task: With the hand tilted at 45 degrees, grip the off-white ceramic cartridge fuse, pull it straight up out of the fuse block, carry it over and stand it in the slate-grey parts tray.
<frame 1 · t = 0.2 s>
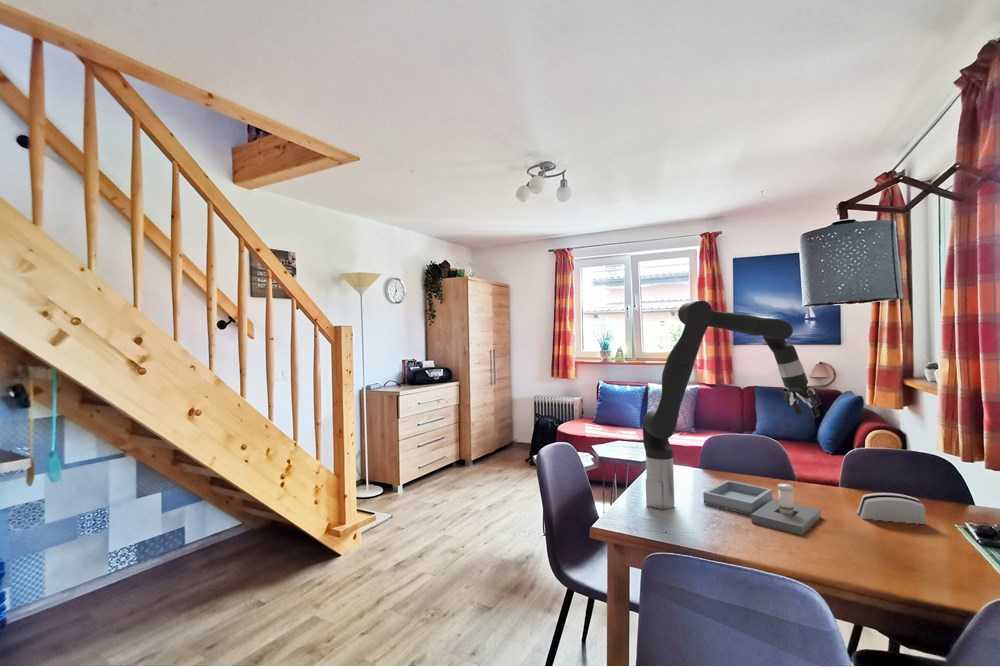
hand: (807, 415, 166), 30 cm above the table, tool tilted 20°, fingers open, 8 cm apart
grey grooved half-disc: (891, 521, 145), on the table
parts tray: (738, 502, 164), on the table
fuse block: (786, 519, 147), on the table
fuse: (785, 502, 148), in the fuse block
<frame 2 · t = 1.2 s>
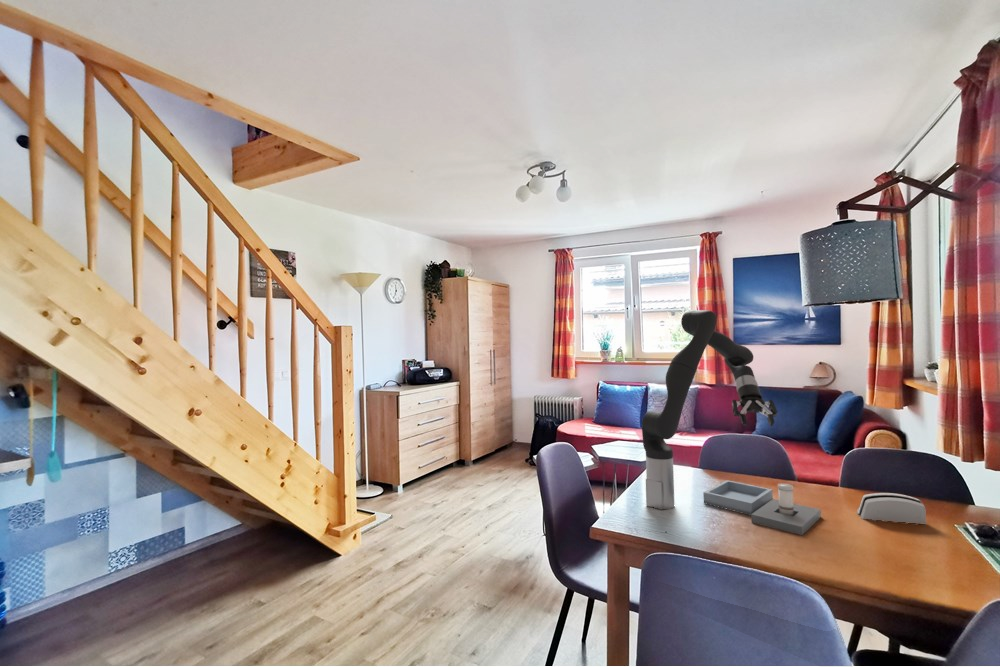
hand: (758, 424, 165), 27 cm above the table, tool tilted 45°, fingers open, 8 cm apart
nothing on the table moved.
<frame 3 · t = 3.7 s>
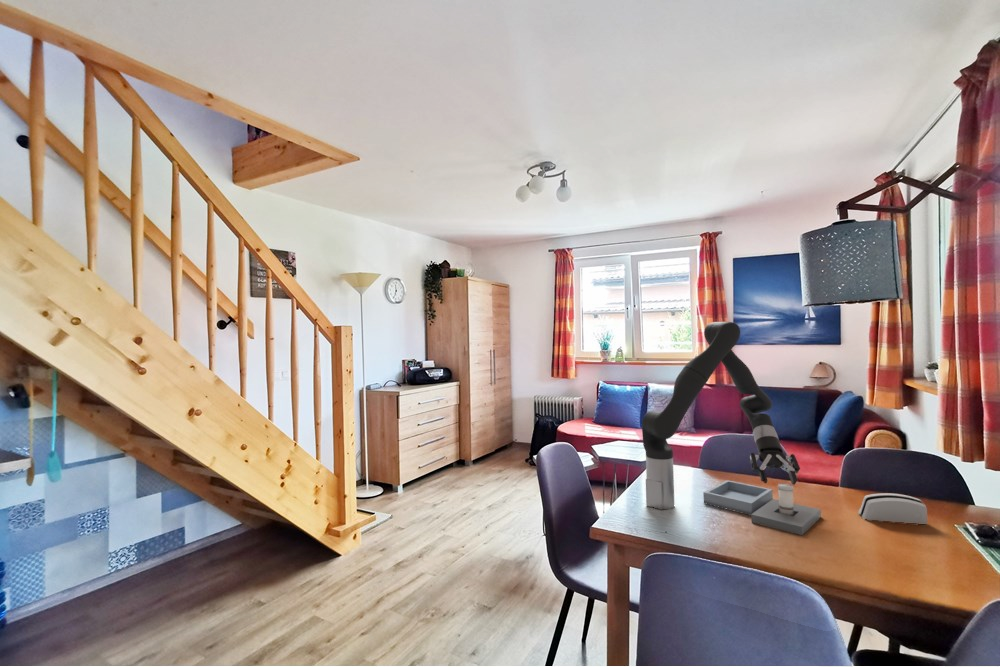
hand: (779, 482, 152), 10 cm above the table, tool tilted 45°, fingers open, 8 cm apart
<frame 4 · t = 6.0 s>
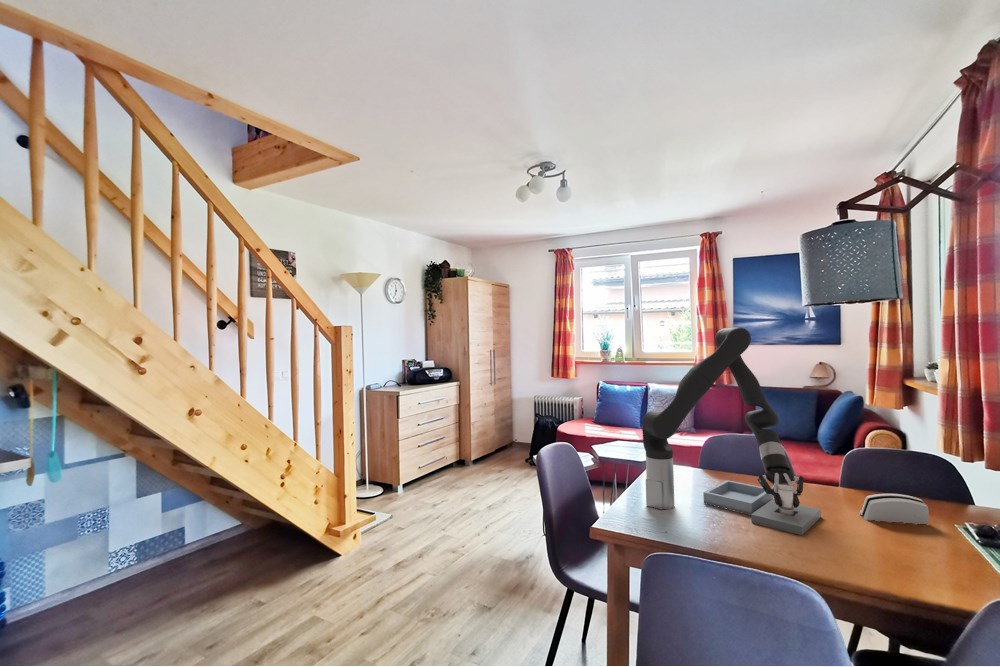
hand: (788, 505, 146), 5 cm above the table, tool tilted 45°, fingers closed on fuse, 4 cm apart
fuse: (786, 502, 148), in the fuse block, touching gripper
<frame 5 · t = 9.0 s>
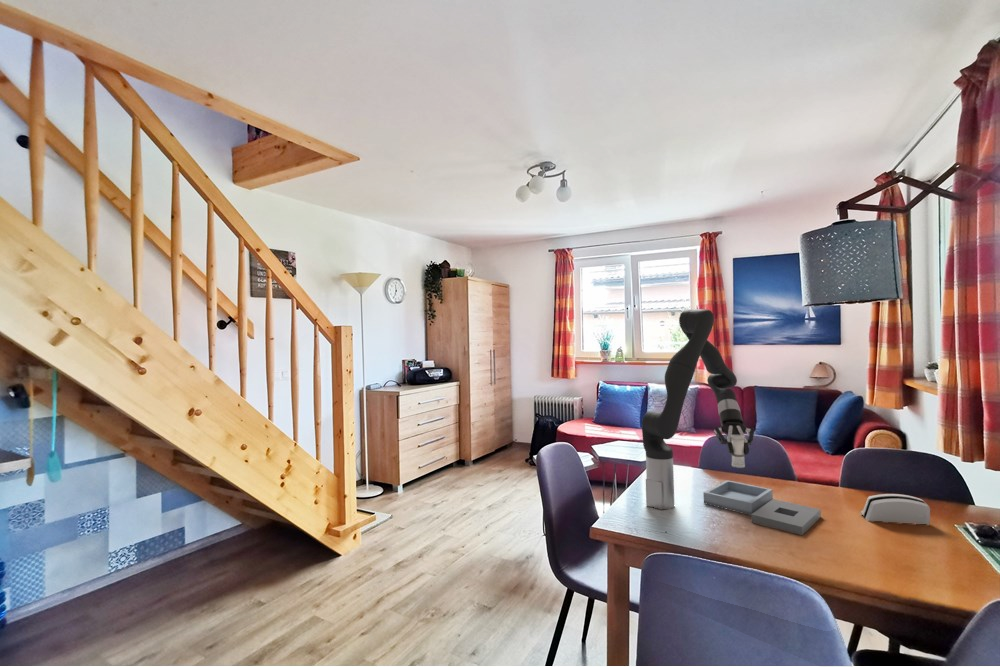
hand: (739, 453, 162), 18 cm above the table, tool tilted 45°, fingers closed on fuse, 4 cm apart
fuse: (737, 450, 164), point 18 cm above the table, touching gripper
when the fingers open (7 cm above the table, at t = 11.9 s): fuse drops 1 cm, resting on parts tray.
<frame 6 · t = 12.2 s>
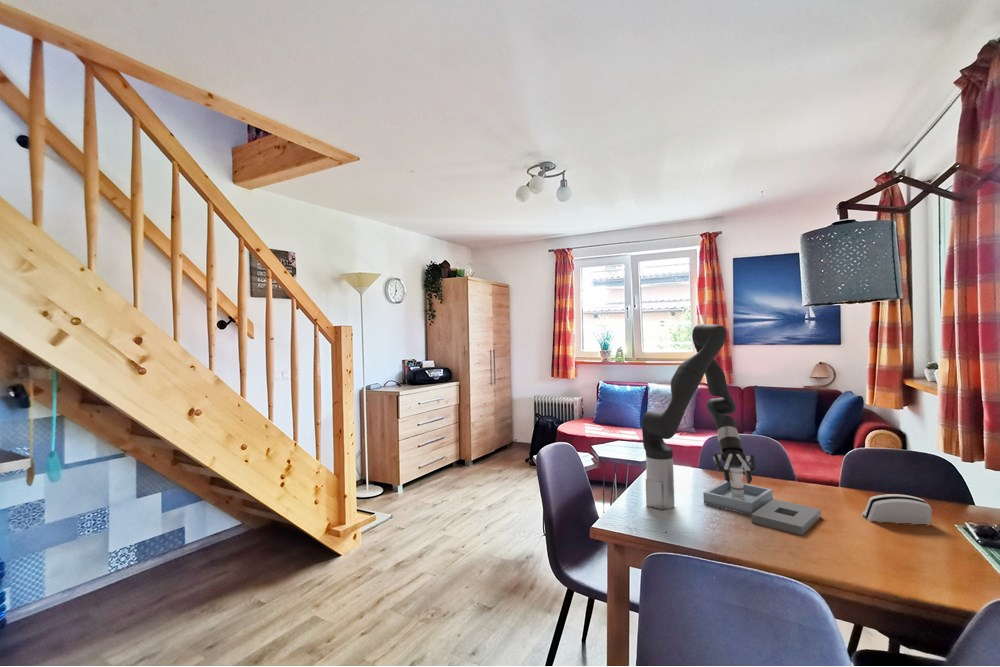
hand: (739, 481, 163), 8 cm above the table, tool tilted 45°, fingers open, 6 cm apart
fuse: (737, 483, 164), in the parts tray, point 7 cm above the table
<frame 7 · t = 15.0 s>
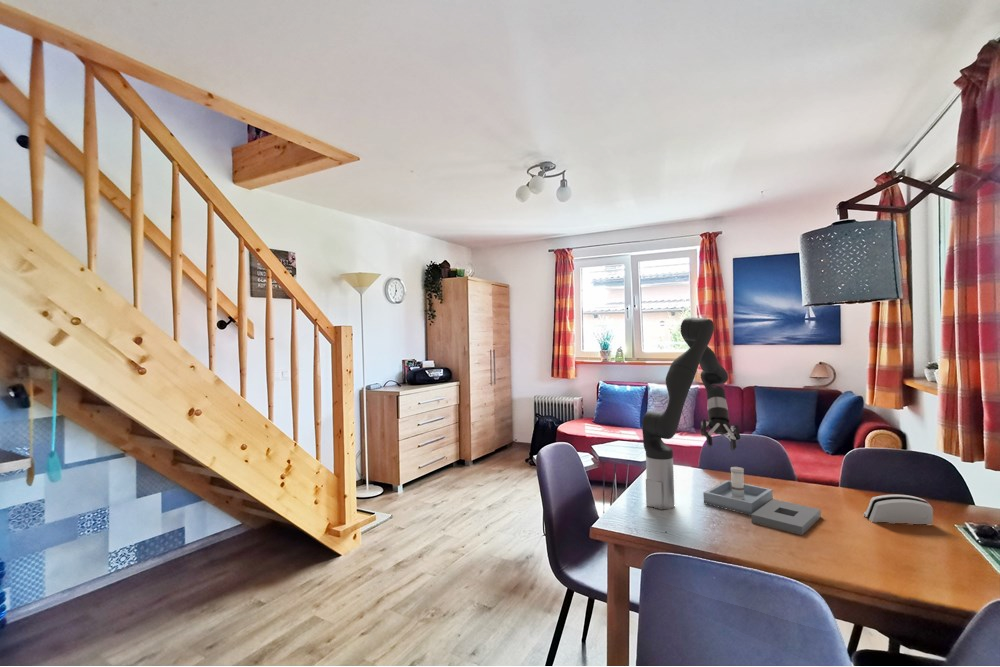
hand: (721, 447, 177), 16 cm above the table, tool tilted 35°, fingers open, 8 cm apart
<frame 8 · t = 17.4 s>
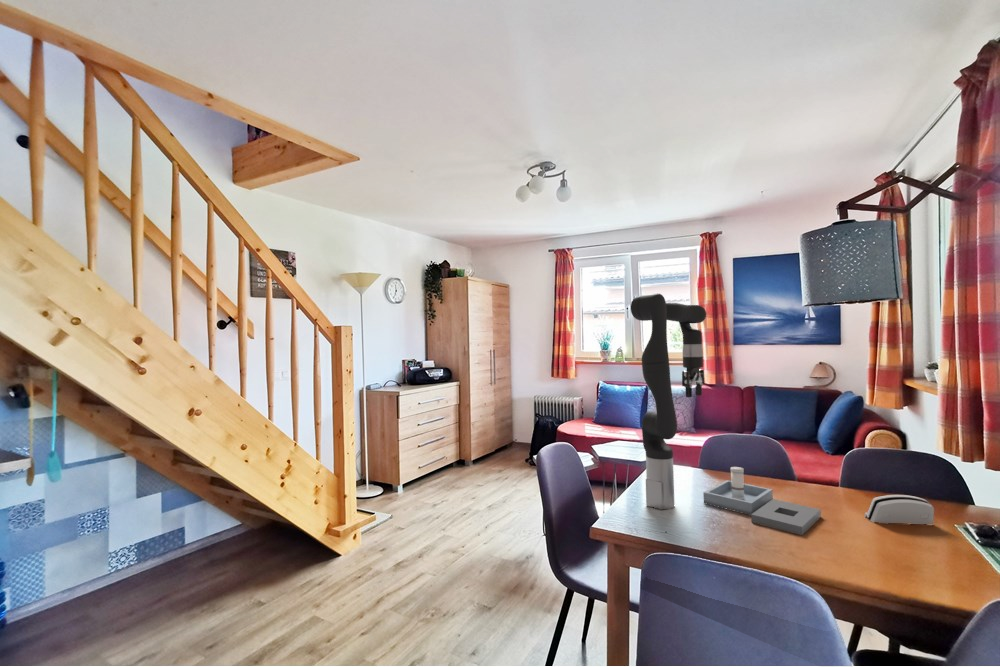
hand: (694, 396, 182), 36 cm above the table, tool pointing down, fingers open, 8 cm apart
at the end: fuse inside the target area on the parts tray (0.1 cm from its centre), point 6.5 cm above the parts tray's base; fuse tilted 0°; the gripper is holding nothing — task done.
